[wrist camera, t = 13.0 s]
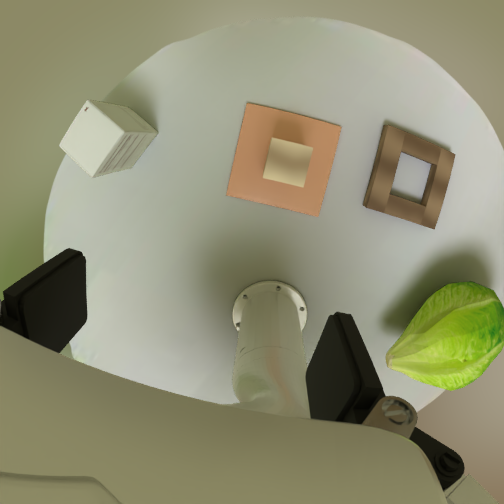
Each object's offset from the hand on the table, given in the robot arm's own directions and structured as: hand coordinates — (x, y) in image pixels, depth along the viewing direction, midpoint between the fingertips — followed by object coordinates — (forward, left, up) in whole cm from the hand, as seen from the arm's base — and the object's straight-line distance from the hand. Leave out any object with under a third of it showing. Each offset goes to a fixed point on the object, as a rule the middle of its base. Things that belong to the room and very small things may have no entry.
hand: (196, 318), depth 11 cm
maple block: (+5, -4, -36) cm, 36 cm away
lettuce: (-14, -39, -36) cm, 55 cm away
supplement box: (+4, +20, -36) cm, 42 cm away
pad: (+5, -4, -36) cm, 37 cm away
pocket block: (+8, -24, -36) cm, 44 cm away
